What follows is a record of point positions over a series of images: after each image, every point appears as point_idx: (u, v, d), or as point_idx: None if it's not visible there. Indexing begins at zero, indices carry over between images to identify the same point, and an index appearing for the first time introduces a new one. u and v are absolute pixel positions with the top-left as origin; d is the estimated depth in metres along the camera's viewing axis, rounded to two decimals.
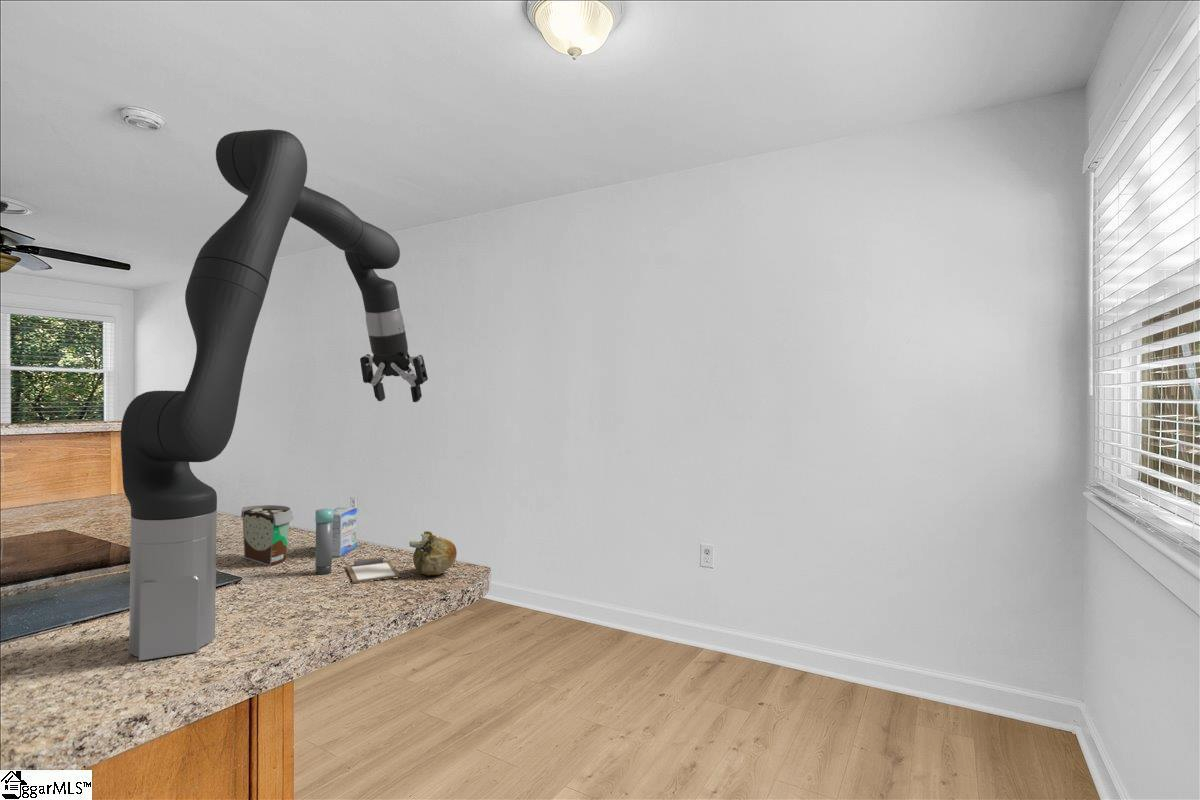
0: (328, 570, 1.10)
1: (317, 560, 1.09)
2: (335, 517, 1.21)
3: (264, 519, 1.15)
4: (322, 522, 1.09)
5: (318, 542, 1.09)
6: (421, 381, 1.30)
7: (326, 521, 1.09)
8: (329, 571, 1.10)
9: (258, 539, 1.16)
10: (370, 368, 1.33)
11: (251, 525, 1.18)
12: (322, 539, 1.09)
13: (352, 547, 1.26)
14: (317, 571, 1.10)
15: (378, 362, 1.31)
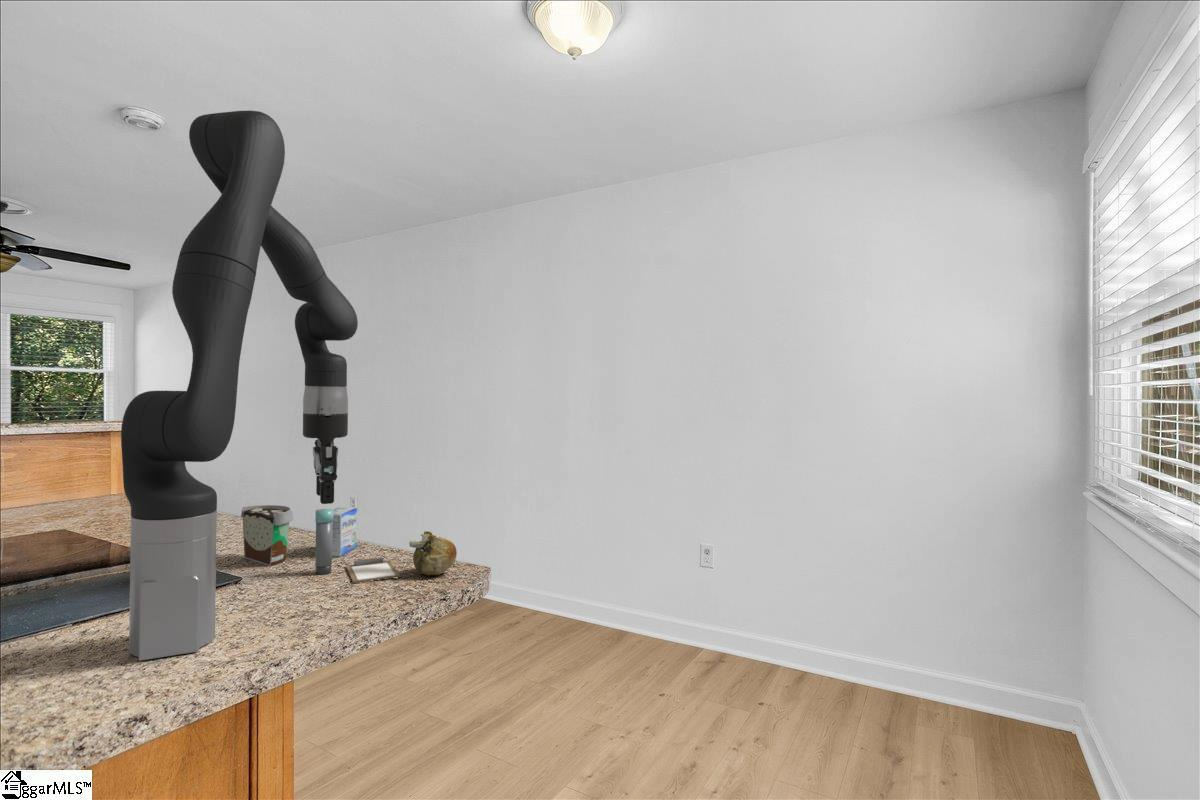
0: (328, 570, 1.10)
1: (317, 560, 1.09)
2: (335, 517, 1.21)
3: (264, 519, 1.15)
4: (322, 522, 1.09)
5: (318, 542, 1.09)
6: (321, 477, 1.04)
7: (326, 521, 1.09)
8: (329, 571, 1.10)
9: (258, 539, 1.16)
10: None
11: (251, 525, 1.18)
12: (322, 539, 1.09)
13: (352, 547, 1.26)
14: (317, 571, 1.10)
15: None
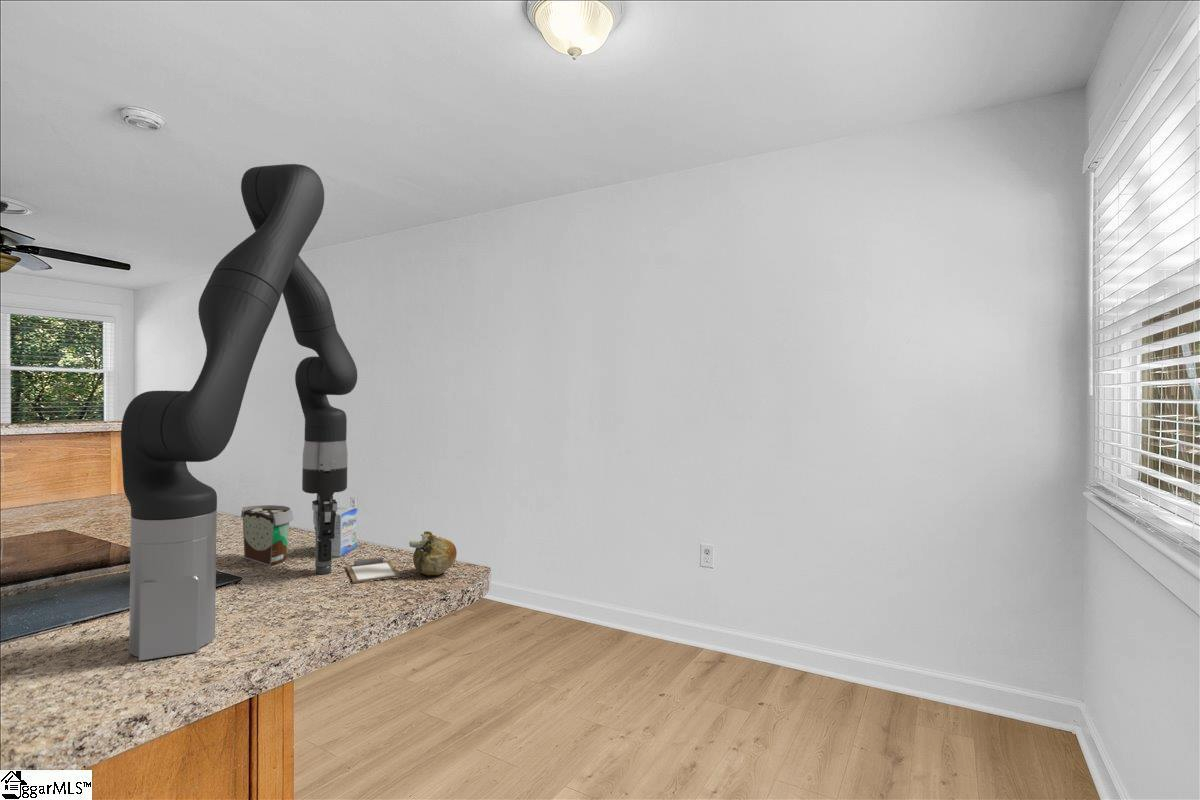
0: (328, 570, 1.10)
1: (317, 560, 1.09)
2: None
3: (264, 519, 1.15)
4: None
5: None
6: (318, 536, 1.06)
7: None
8: (329, 571, 1.10)
9: (258, 539, 1.16)
10: None
11: (251, 525, 1.18)
12: None
13: (352, 547, 1.26)
14: (317, 571, 1.10)
15: None
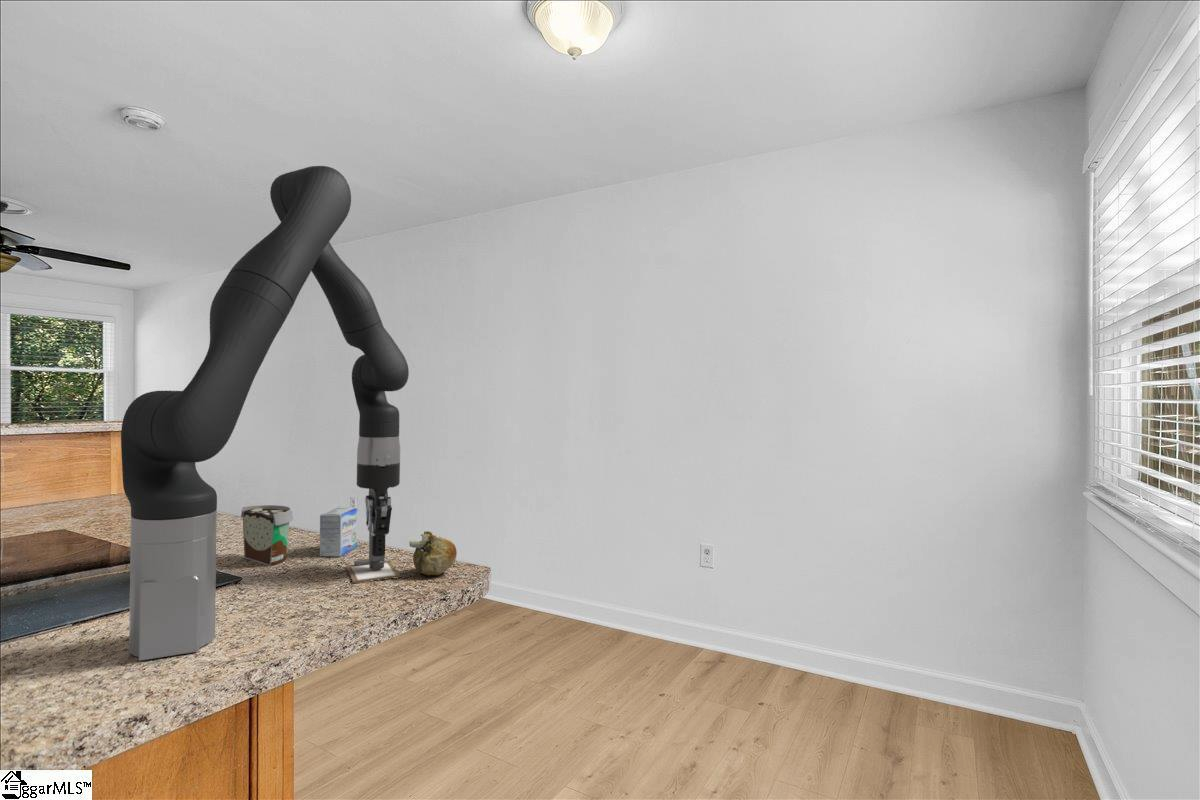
0: (381, 564, 1.11)
1: (371, 554, 1.11)
2: (335, 517, 1.21)
3: (264, 519, 1.15)
4: None
5: None
6: (374, 531, 1.08)
7: None
8: (382, 565, 1.12)
9: (258, 539, 1.16)
10: None
11: (251, 525, 1.18)
12: None
13: (352, 547, 1.26)
14: (371, 565, 1.11)
15: (369, 494, 1.13)
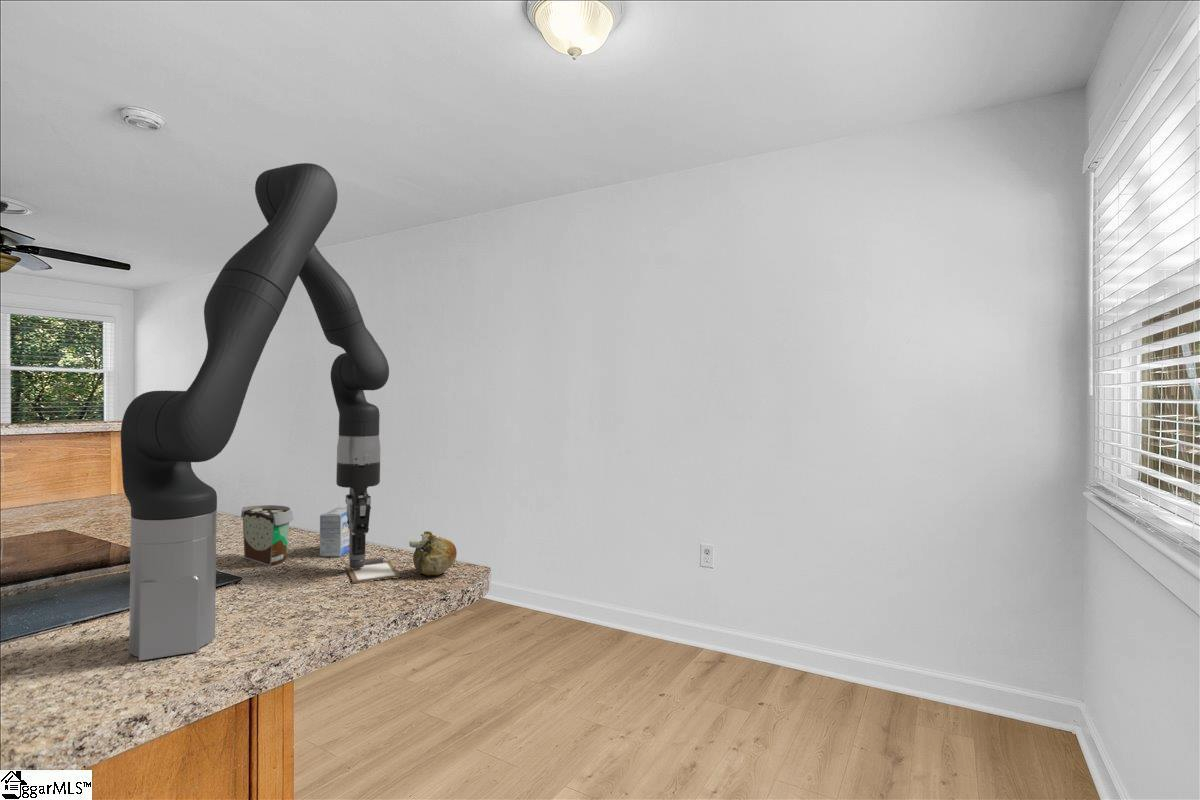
0: (362, 563, 1.11)
1: (351, 553, 1.11)
2: (335, 517, 1.21)
3: (264, 519, 1.15)
4: None
5: None
6: (353, 530, 1.08)
7: None
8: (363, 564, 1.12)
9: (258, 539, 1.16)
10: None
11: (251, 525, 1.18)
12: None
13: None
14: (351, 564, 1.11)
15: (350, 493, 1.13)
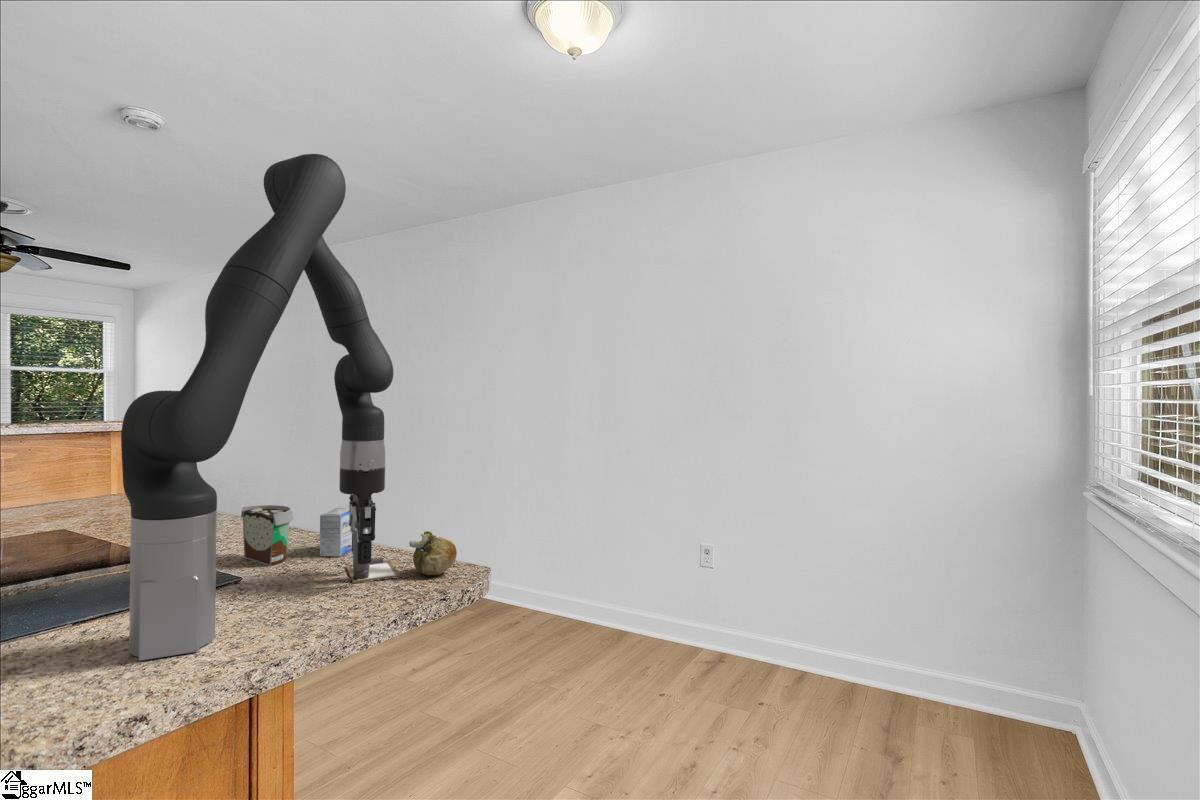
0: (366, 574, 1.07)
1: (355, 564, 1.06)
2: (335, 517, 1.21)
3: (264, 519, 1.15)
4: None
5: (356, 546, 1.06)
6: (359, 538, 1.01)
7: None
8: (367, 575, 1.07)
9: (258, 539, 1.16)
10: None
11: (251, 525, 1.18)
12: None
13: None
14: (355, 575, 1.06)
15: (353, 501, 1.09)
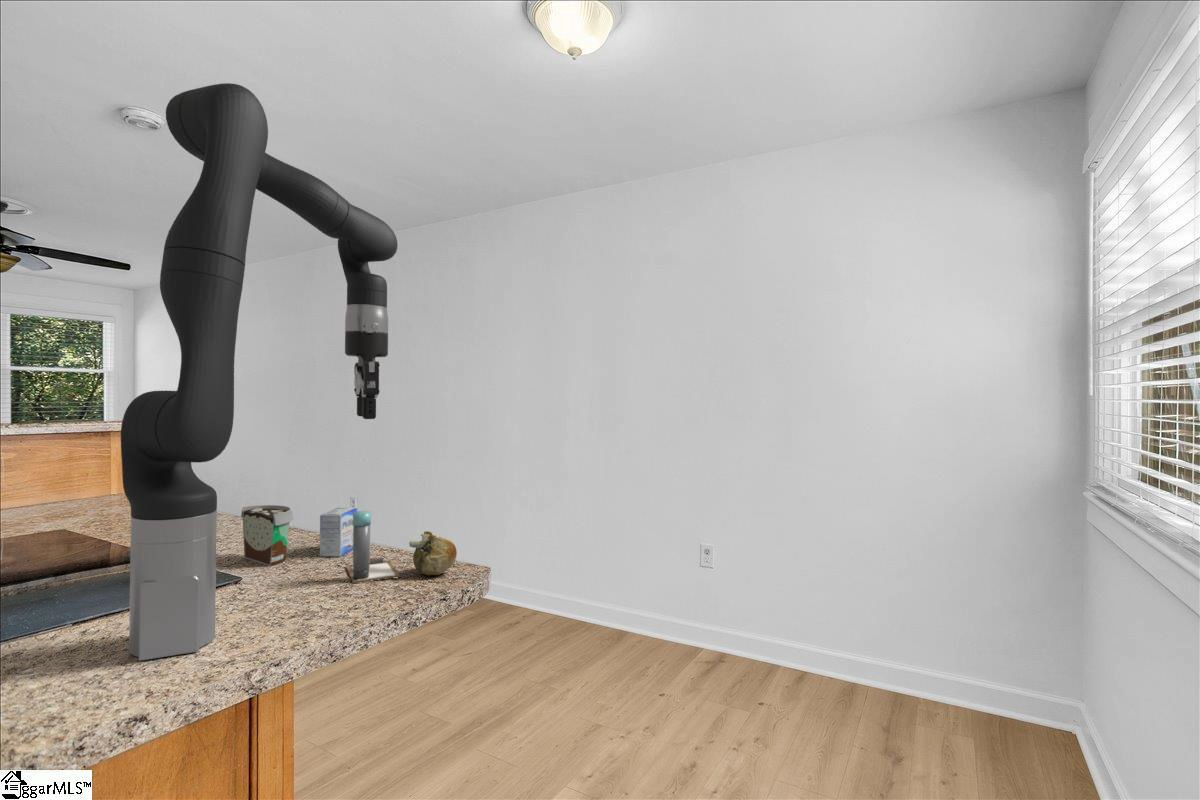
0: (366, 574, 1.07)
1: (355, 564, 1.06)
2: (335, 517, 1.21)
3: (264, 519, 1.15)
4: (360, 525, 1.06)
5: (356, 545, 1.06)
6: (364, 390, 1.06)
7: (364, 524, 1.06)
8: (367, 575, 1.07)
9: (258, 539, 1.16)
10: None
11: (251, 525, 1.18)
12: (360, 543, 1.06)
13: (352, 547, 1.26)
14: (355, 575, 1.06)
15: None
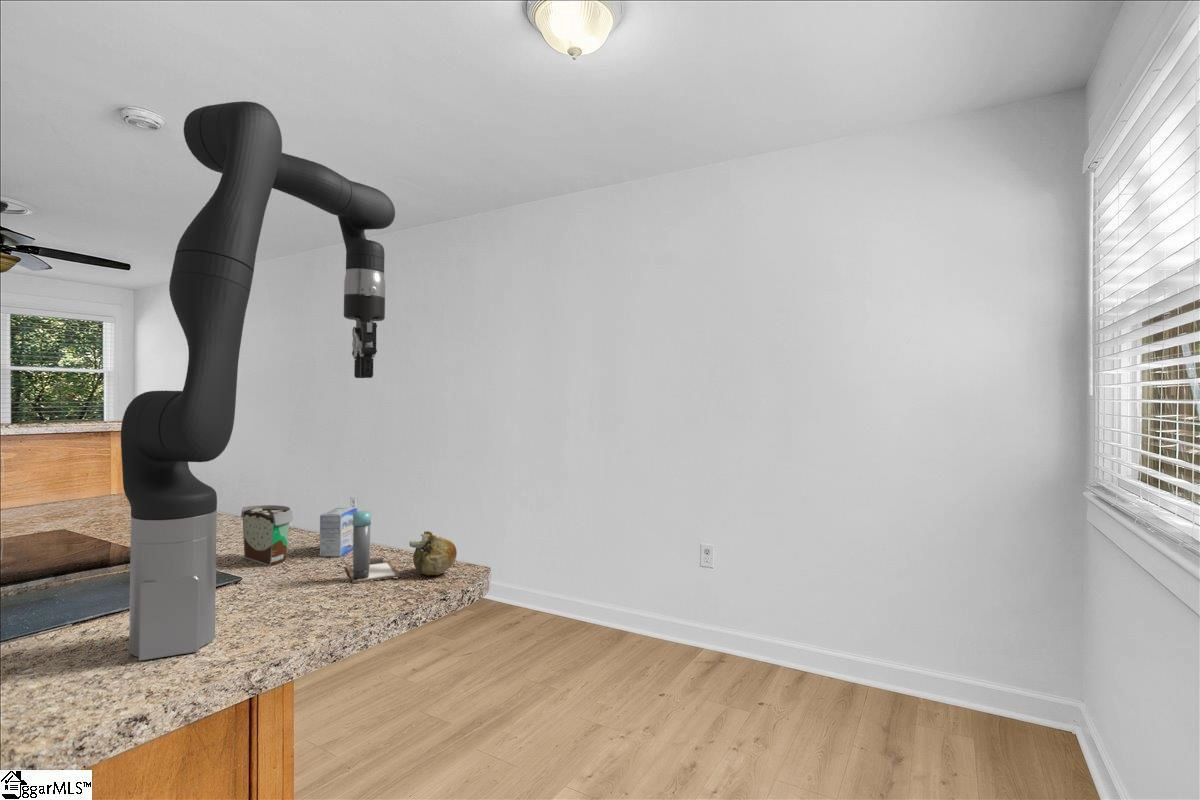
0: (366, 574, 1.07)
1: (355, 564, 1.06)
2: (335, 517, 1.21)
3: (264, 519, 1.15)
4: (360, 525, 1.06)
5: (356, 545, 1.06)
6: (362, 349, 1.11)
7: (364, 524, 1.06)
8: (367, 575, 1.07)
9: (258, 539, 1.16)
10: None
11: (251, 525, 1.18)
12: (360, 543, 1.06)
13: (352, 547, 1.26)
14: (355, 575, 1.06)
15: None
